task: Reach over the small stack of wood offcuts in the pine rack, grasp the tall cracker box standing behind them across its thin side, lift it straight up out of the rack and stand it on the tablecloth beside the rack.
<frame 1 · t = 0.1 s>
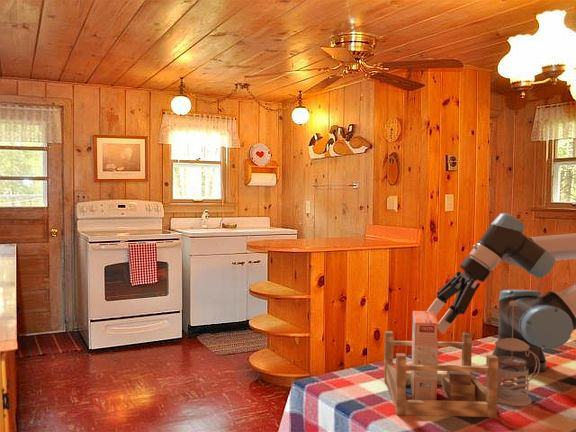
hand: (432, 324, 145), 15 cm above the table, tool tilted 35°, fingers open, 13 cm apart
cracker box: (423, 398, 132), on the table
offcut a: (458, 398, 133), on the table, touching offcut b
offcut c: (458, 379, 133), point 4 cm above the table, touching offcut b
french press: (514, 399, 132), on the table
rack: (435, 397, 132), on the table
offcut b: (457, 389, 133), point 2 cm above the table, touching offcut a, offcut c
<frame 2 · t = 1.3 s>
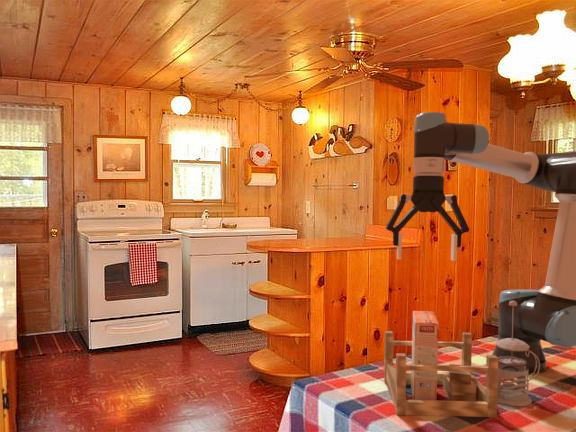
hand: (426, 259, 131), 35 cm above the table, tool pointing down, fingers open, 13 cm apart
nothing on the table moved.
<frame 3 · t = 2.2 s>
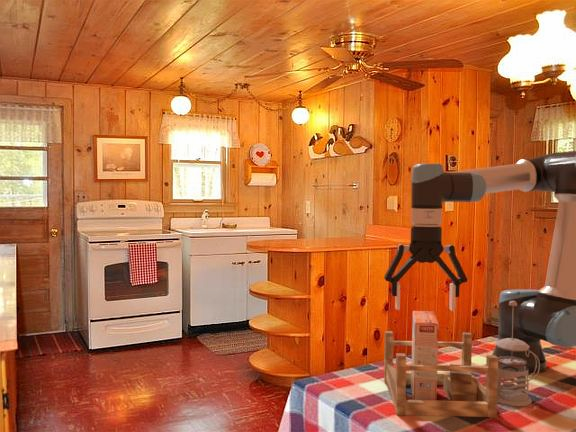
hand: (424, 309, 131), 23 cm above the table, tool pointing down, fingers open, 13 cm apart
nothing on the table moved.
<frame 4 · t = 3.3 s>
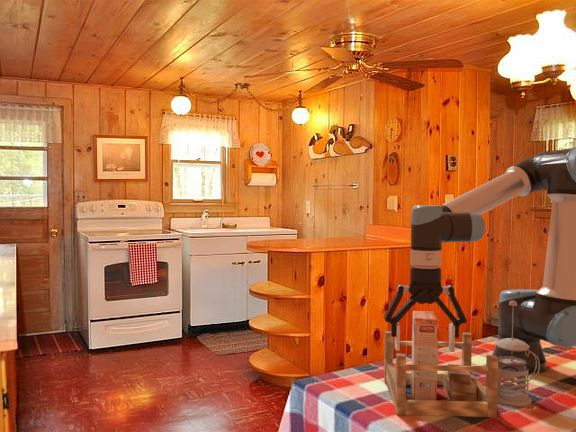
hand: (424, 350, 132), 12 cm above the table, tool pointing down, fingers open, 13 cm apart
nothing on the table moved.
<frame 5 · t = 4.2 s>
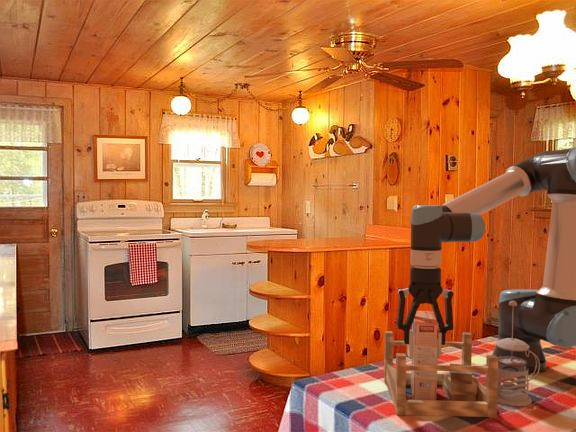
hand: (424, 356, 132), 10 cm above the table, tool pointing down, fingers closed on cracker box, 6 cm apart
cracker box: (423, 398, 132), on the table, touching gripper
everything else where it was.
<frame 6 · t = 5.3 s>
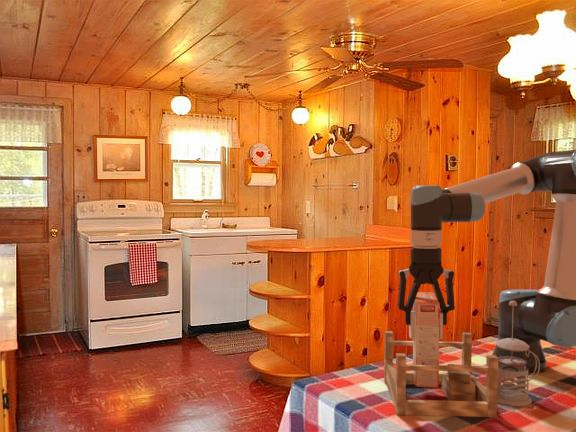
hand: (425, 337, 132), 15 cm above the table, tool pointing down, fingers closed on cracker box, 6 cm apart
cracker box: (425, 379, 132), point 5 cm above the table, touching gripper
everything else where it was.
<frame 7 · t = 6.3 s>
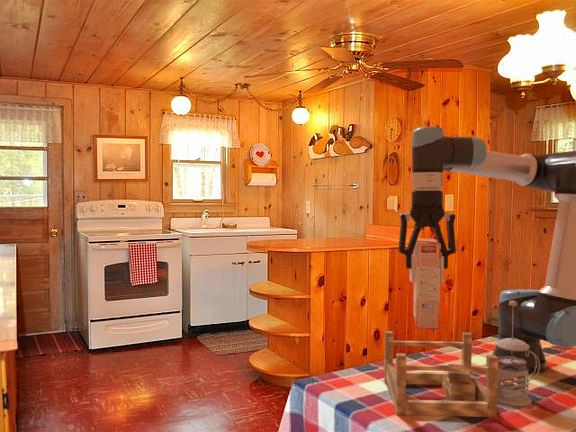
hand: (426, 281, 131), 30 cm above the table, tool pointing down, fingers closed on cracker box, 6 cm apart
cracker box: (426, 323, 132), point 19 cm above the table, touching gripper
offcut c: (458, 378, 133), point 4 cm above the table
offcut b: (458, 388, 133), point 2 cm above the table, touching offcut a
everything else where it was.
when the fingers open (11 cm above the table, at t = 11.9 s): cracker box stays where it is, on the table.
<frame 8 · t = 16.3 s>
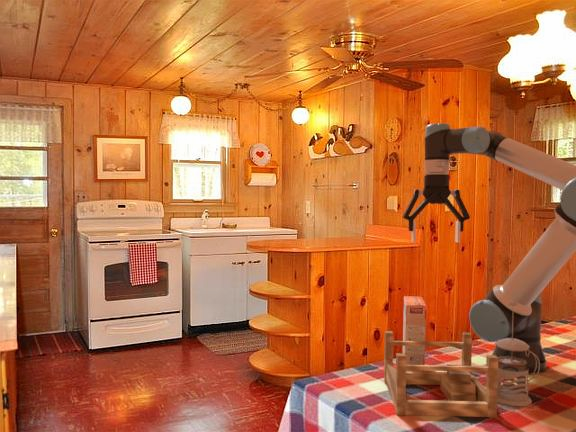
hand: (435, 242, 163), 37 cm above the table, tool pointing down, fingers open, 13 cm apart
cracker box: (413, 371, 152), on the table
offcut c: (458, 379, 133), point 4 cm above the table, touching offcut b
offcut b: (457, 388, 133), point 2 cm above the table, touching offcut a, offcut c
everything else where it was.
at the end: cracker box inside the target area (0.5 cm from its centre), on the table; cracker box moved 20.0 cm from its start; the gripper is holding nothing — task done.
